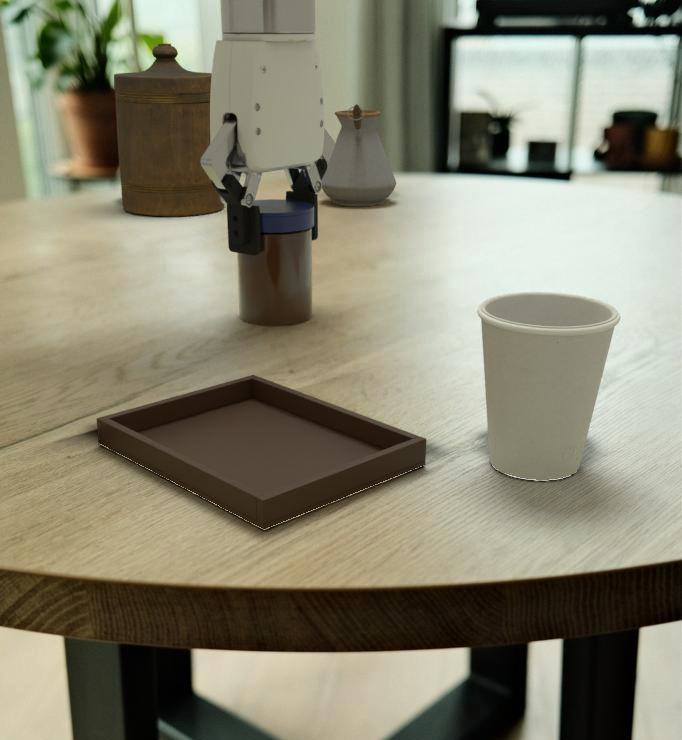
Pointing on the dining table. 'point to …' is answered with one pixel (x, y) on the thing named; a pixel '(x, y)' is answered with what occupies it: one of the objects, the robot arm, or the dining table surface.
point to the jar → (277, 280)
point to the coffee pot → (358, 162)
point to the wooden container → (164, 138)
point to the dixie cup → (542, 378)
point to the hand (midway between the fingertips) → (274, 243)
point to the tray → (261, 447)
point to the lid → (285, 215)
